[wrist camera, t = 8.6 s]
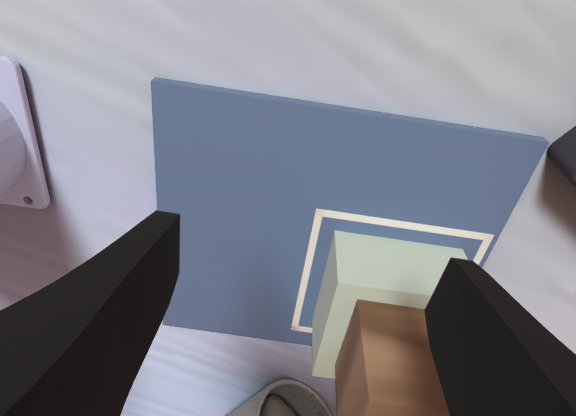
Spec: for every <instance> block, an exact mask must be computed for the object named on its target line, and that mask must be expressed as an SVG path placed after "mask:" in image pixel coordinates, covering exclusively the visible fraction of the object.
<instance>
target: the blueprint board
mask: <svg viewBox="0 0 576 416" xmlns="http://www.w3.org/2000/svg"><path fill="white" fill-rule="evenodd" d="M151 93H152V113H153V133H154V153H155V173H156V193H157V210H158V211H164V212H170V213H176V214H180V268H179V276H178V279H177V282H176V285H175V289H174V292H173V295H172V298H171V301H170V304H169V307H168V309H167V311H166V313H165V316H164V318H163V325H168V326H175V327H182V328H189V329H197V330H204V331H211V332H218V333H225V334H233V335H240V336H247V337H254V338H261V339H269V340H276V341H283V342H290V343H297V344H305V345H312V319H313V315H314V311H315V307H316V303H317V299H318V295H319V291H320V287H321V283H322V279H323V275H324V271H325V267H326V263H327V259H328V255H329V251H330V247H331V243H332V239H333V235H334V231H335V230H336V231H343V232H349V233H356V234H363V235H370V236H377V237H384V238H390V239H397V240H404V241H411V242H418V243H425V244H431V245H438V246H445V247H452V248H459V249H463V251H464V253H465V255H466V257H467V259H468V260H472V261H474V262H475V263H476V264H478V265H479V266H480V267H481V268H482V267H483V265H484V263H485V262H486V260H487V258H488V256H489V254H490V252H491V250H492V248H493V247H494V245H495V243H496V241H497V239H498V237H499V235H500V233H501V232H502V230H503V228H504V226H505V224H506V222H507V220H508V219H509V217H510V215H511V213H512V211H513V209H514V207H515V205H516V204H517V202H518V200H519V198H520V196H521V194H522V192H523V190H524V189H525V187H526V185H527V183H528V181H529V179H530V177H531V175H532V174H533V172H534V170H535V168H536V166H537V164H538V162H539V161H540V159H541V157H542V155H543V153H544V151H545V149H546V147H547V146H548V144H549V142H548V141H547V140H545V139H544V138H543V137H537V136H531V135H525V134H518V133H512V132H505V131H499V130H492V129H486V128H479V127H473V126H466V125H460V124H453V123H447V122H440V121H434V120H427V119H421V118H414V117H408V116H402V115H395V114H389V113H382V112H376V111H369V110H363V109H356V108H350V107H343V106H337V105H330V104H324V103H317V102H311V101H304V100H298V99H292V98H285V97H279V96H272V95H266V94H259V93H253V92H246V91H240V90H233V89H227V88H220V87H214V86H207V85H201V84H194V83H188V82H182V81H175V80H169V79H162V78H156V77H155V78H154V79H153V80H152V81H151Z"/></svg>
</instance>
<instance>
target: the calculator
mask: <svg viewBox="0 0 576 416" xmlns="http://www.w3.org/2000/svg"><path fill="white" fill-rule="evenodd" d="M547 155H548V157H549V158H550V159H551V160H552V161H553V162H554V163H555V165H556V166H557V167H558V168H559V169H560V170H561V171H562V172H563V173H564V174H565V175H566V176H567V177H568V179H569V180H570V181H571V182H572V183H573V184H574V185H575V186H576V126H575V127H573V128H572V129H571V130H569V131H568V132H567V133H565V134H564V135H563V136H562V137H560V138H559V139H558V140H556V141H555V142H554V143H552V144H551V145H550V146H549V148H548V150H547Z"/></svg>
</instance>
